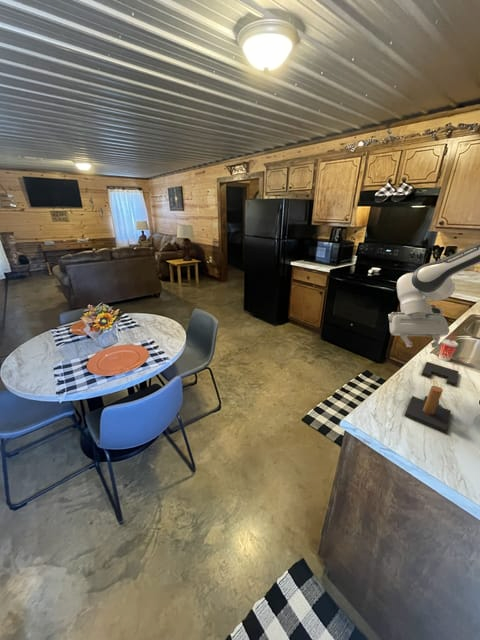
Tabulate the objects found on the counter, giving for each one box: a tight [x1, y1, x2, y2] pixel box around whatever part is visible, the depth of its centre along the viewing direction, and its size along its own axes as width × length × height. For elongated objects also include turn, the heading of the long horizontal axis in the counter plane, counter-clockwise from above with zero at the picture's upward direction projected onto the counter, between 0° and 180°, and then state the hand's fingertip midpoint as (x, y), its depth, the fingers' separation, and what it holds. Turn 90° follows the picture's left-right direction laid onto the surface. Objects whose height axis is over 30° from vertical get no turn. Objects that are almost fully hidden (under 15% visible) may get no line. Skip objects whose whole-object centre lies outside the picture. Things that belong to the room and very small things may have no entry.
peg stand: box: [404, 385, 452, 434], centre depth 93 cm, size 16×12×12 cm
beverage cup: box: [438, 332, 459, 362], centre depth 126 cm, size 6×6×14 cm
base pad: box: [421, 361, 459, 387], centre depth 116 cm, size 12×12×2 cm
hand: (422, 346), depth 97 cm, fingers open, 8 cm apart
